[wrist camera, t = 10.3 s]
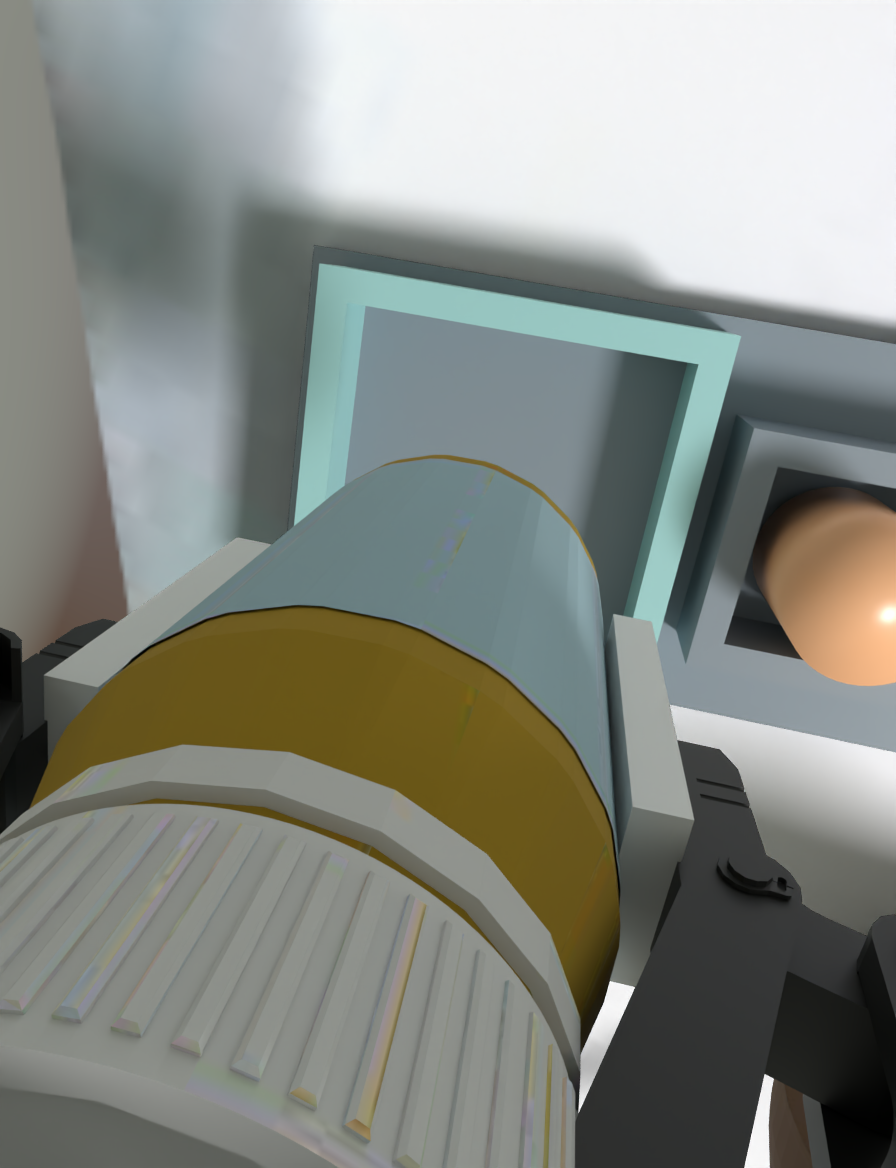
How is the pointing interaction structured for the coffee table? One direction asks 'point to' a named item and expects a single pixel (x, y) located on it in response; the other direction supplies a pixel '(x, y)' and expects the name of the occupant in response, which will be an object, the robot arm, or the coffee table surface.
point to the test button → (833, 582)
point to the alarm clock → (788, 1129)
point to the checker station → (616, 449)
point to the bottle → (329, 856)
